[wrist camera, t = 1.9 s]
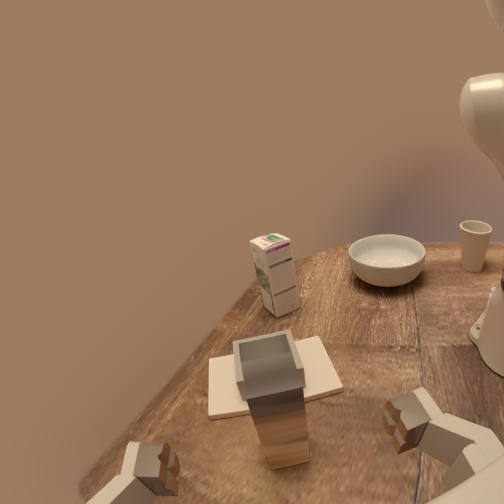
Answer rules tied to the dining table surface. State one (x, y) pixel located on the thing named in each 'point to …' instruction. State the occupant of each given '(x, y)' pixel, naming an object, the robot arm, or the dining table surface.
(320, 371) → the caddy
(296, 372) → the tool handle
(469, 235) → the dixie cup
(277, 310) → the syrup box
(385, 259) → the cereal bowl
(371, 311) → the dining table surface
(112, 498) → the robot arm
